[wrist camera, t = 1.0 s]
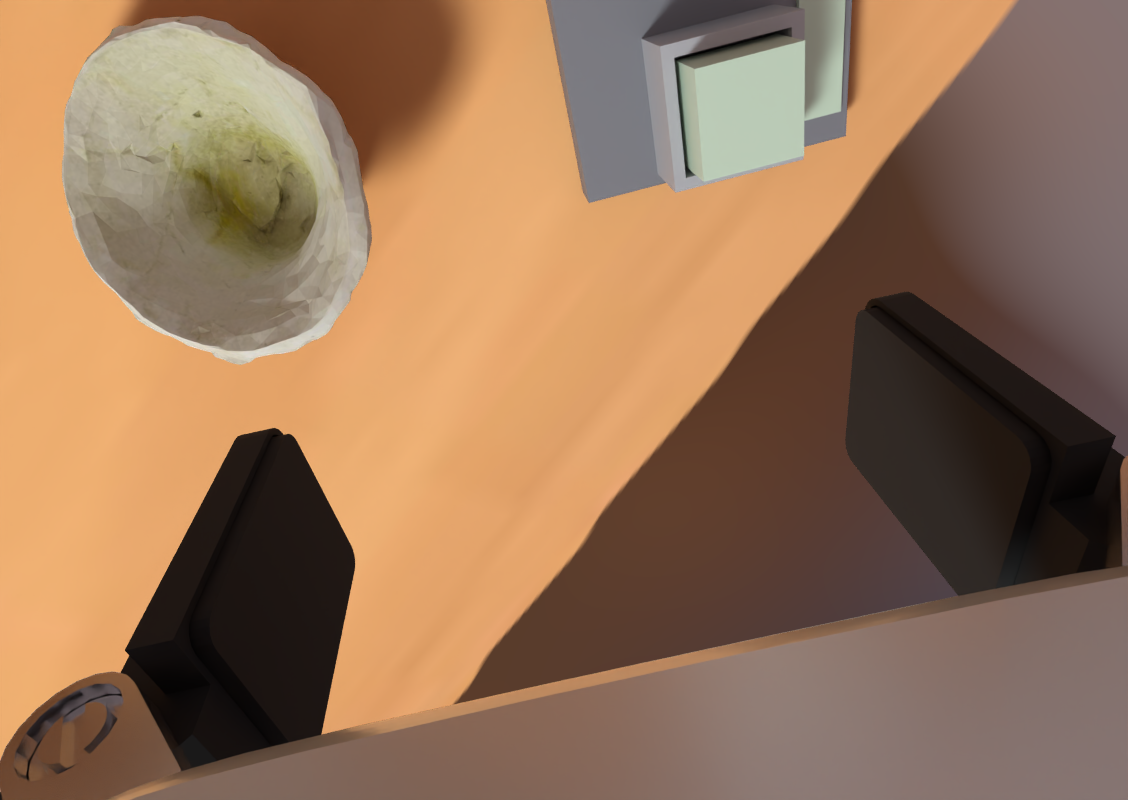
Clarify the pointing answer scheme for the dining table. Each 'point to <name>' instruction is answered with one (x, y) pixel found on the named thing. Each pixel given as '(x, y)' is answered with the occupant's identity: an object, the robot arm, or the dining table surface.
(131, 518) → the dining table surface
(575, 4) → the button board
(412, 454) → the dining table surface
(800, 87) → the green button
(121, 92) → the bowl
